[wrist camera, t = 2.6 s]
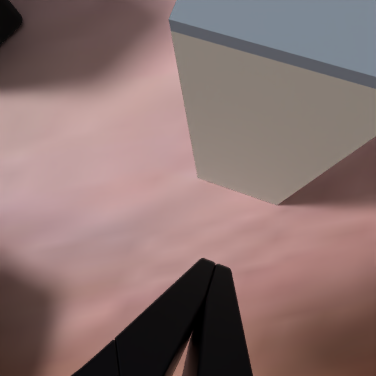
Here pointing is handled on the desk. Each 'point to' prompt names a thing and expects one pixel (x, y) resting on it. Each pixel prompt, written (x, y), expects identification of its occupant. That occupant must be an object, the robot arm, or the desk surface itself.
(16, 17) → the battery
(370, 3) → the cream block
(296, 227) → the desk surface
